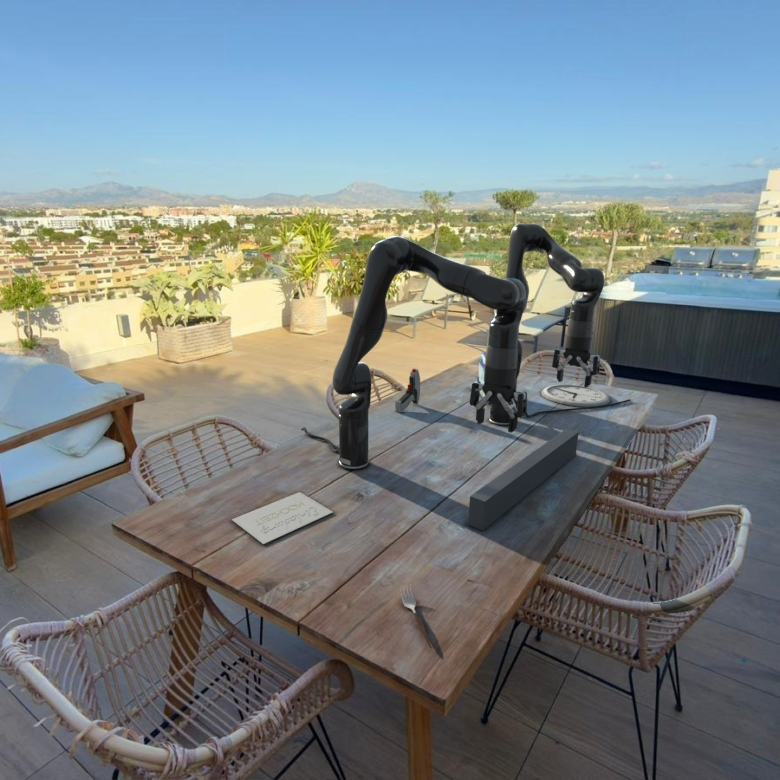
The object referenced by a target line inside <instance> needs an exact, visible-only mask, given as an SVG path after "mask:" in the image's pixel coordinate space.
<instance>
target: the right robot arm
mask: <svg viewBox="0 0 780 780" xmlns="http://www.w3.org/2000/svg"><path fill="white" fill-rule="evenodd" d="M507 250H508V251H507V262H506V263H507V265H506V272H505V277H504V279H507V278H515V279H518V280H520V281H521V282H522V283H523V285H524V287H525V291H526V300H525V306H524V310H523V313H524V312H525V311H526V309H527V305H528V301H529V295H530V286H529V282H528V279H527V278H526V274H525V272H524V268H523V267H524V265H523V264H524V258H525V257H524V256H525V253H533V252H536V253H540V254H542V255H544V256H545V259H546V263H547V265H548V266H549V268H550V269H551V270H552V271H553V272H554V273H556V274H557V275H558V276H560V277H561V278H562V280H563V281H564V283H565V285H567V287H568V289H570V290H571V291H573V292H575V293H582V294H581V297H580V298H578V299H575V300H572V302H571V305H570V310H569V311H570V312H569V319H568V324H567V329H566V337H565V346H564V350H563V349H561V348H557V349H555V350H554V352H553V358H552V364H551V367H552V368H554V369H556V370H557V373H556V380H557V382H559V383H561V382H563V380H564V373H565V371H564V369H565V368H566V367H567V366H568V365H569V366H574V367H577V368H580V367H581V369H582V371H584V373H585V378H584V385H583V386H584V387H589V386H591V384H592V379H593V376H597V375H598V374H599V373H600V369H601V367H600V366H601V355H600V354H597V355H594V354H591V350H592V349H591V348H592V340H593V335H594V320H595V319H594V318H595V311H596V306H597V304H598V302H599V299H600V298H601V294H602V292H603V290H604V287H605V275H604V272H603V271H602V269H600V268H598V267H583V265H582V262H581V260H580V259H579V258H577V257H576V256H574V255H573V254H572V253H570V252H569V251H568V250H566V249H565V248H564V247H562V246H561V245H560V244H559V243H558V242H557V241H556V240H555V239H554V238H553V236H552V235H551V234H550V233H549V232H548V231H547V230H546V229H545V228H544V227H543V226H542V225H541V224H537V223H518V224H517V223H516V224H515V225H514V226H513V228H512V230H511V232H510V235H509V241H508V249H507ZM562 356H563V357H564V360H563V361H562V362H561V363H560V360H561V357H562ZM522 358H523V344H522V342H521V341H520V340H519V339H518V359H517V361H518V364H517V370H516V381H515V391H517V388H518V378H519V376H520V372H521V365H522V360H523V359H522ZM589 361H591V363H593V364H592V368H591V364H590V363H589ZM512 399H513V401H514V402H515V404H516V408H517V405H518V401H517V400H516V397H515V396H514V397H513V398H512ZM631 400H632V399H625V400H622V401H617V402H613V403H608V404H606V405H600V406H593V407H572V408H561V409H549V410H540V411H537V412H534V413H532V414H531V415H530V414H528V412H527V411H526V415H525V417H527V418H533V417H534V416H536V415H539V414H547V413H557V412H568V411H581V410H591V409H597V408H598V409H600V408H605V407H611V406H615V405H621V404H624V403H628V402H631ZM508 404H509V403H508ZM489 414H490V415H489V422H490V423H491V424H494V425H497V426H508V425H509V418H510V416H509V414H508V412H507V411H506V410H505V409H504V407H503V406H498V405H496V404H490V410H489Z"/></svg>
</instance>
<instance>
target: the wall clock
mask: <svg viewBox="0 0 780 780" xmlns="http://www.w3.org/2000/svg"><path fill="white" fill-rule="evenodd" d="M541 395H542V396H543V398H545V399H547V400H549V401H551V402H553V403H557V404H560V405H567V406H571V407H578V408H583V407H593V406H600V405H607V404H610V402H611V398H610V396H609V395H608V394H606V393H605V392H603V391H602V390H598V389H595V388H593V387H589V386H588V387H584V385H576V384H555V385H550V386H547V387H545V388H544V389H542V390H541Z"/></svg>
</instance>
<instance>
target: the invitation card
mask: <svg viewBox="0 0 780 780" xmlns="http://www.w3.org/2000/svg"><path fill="white" fill-rule="evenodd" d="M333 513H334V511H332V510H331V509H329V508H328V507H326V506H324V505H323V504H320V503H319V502H318V501H316V500H314V499H312V498H311V497H309V496H308V495H306V494H304V493H302V492H301V491H299V492H295V493H293V494H291V495H287V496H286V497H284V498H281V499H279V500H276V501H274V502H271V503H269V504H266V505H264V506H261V507H259V508H256V509H254V510H252V511H249V512H246V513H243V514H242V515H239V516H237V517H236V516H235V517H234V518H232V519H231V521H232V522H233V523H235V524H236V525H237V526H239V527H240V528H241V529H242V530H243V531H245V532H246V533H248V534H249V535H250V536H251V537H253V538H254V539H255V540H257V541H258V542H259V543H261V544H262V545H265V544H268V543H271V542H273V541H274V540H276V539H278V538H279V539H280V538H281V537H283V536H285V535H287V534H290V533H292V532H294V531H296V530H298V529H300V528H303V527H306V526H307V525H309V524H311V523H313V522H316V521H318V520H320V519H323V518H325V517H327V516H329V515H332V514H333Z"/></svg>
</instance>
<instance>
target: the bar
mask: <svg viewBox="0 0 780 780" xmlns="http://www.w3.org/2000/svg"><path fill="white" fill-rule="evenodd" d="M579 433H580V432H579V431H577V430H573V429H569V428H565V429H564V430H562V431H561V432H559V433H558V434H556V435H555V436H554V437H553V438H551V439H550V440H548V441H546V442H545V443H544V444H542V445H541V446H539V447H538V448H536V449H535V450H534V451H533V452H531V453H529V454H528V455H527V456H525V457H524V458H522V459H521V460H519V461H518V462H516V463H515V464H514V465H513V466H511V467H509V468H508V469H506V470H505V471H504V472H502V473H501V474H499V475H498V476H497V477H494V478H493V479H492V480H490V482H488V483H487V484H485V485H483V486H482V487H480V489H478V490H476V491H475V492H474V493H471V495H470V496H469V505H468V506H469V507H468V521H467V525H468V526H470V527H472V528H474V529H477V530H479V531H482V532H483V531H485V530H486V529H487V528H488V527H489V526H490V525H492V524H493V523H495V522H496V521H497V520H498V519H499V518H500V517H501V516H503V515H504V514H505V513H506V512H508V511H509V510H510V509H511V508H513V507H514V506H515V505H516V504H517V503H519V502H520V501H521V500H522V499H524V498H525V497H526V496H527V495H528V494H530V493H531V492H532V491H533V490H534V489H536V488H537V487H538V486H539V485H540V484H542V483H543V482H544V481H546V480H547V479H548V478H549V477H551V476H552V475H553V474H554V473H555V472H556V471H558V470H559V469H560V468H561V467H562V466H564V465H565V464H566V463H567V462H568V461H570V460H571V459H572V458H574V457H575V456H576V455H577V449H578V442H579V441H578V439H579V435H580V434H579Z"/></svg>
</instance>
